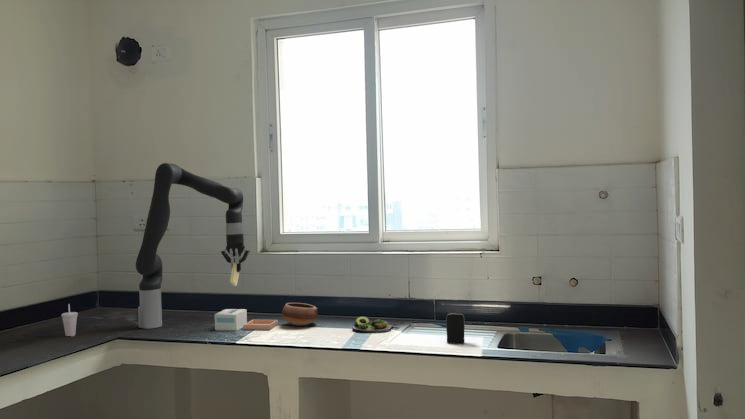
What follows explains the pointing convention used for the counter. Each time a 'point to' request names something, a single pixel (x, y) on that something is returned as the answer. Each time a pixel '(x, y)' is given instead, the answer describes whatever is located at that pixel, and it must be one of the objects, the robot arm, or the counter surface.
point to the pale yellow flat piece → (234, 275)
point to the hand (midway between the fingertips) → (236, 271)
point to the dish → (260, 325)
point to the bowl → (299, 313)
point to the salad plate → (371, 325)
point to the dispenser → (230, 319)
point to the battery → (455, 328)
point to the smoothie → (69, 322)
